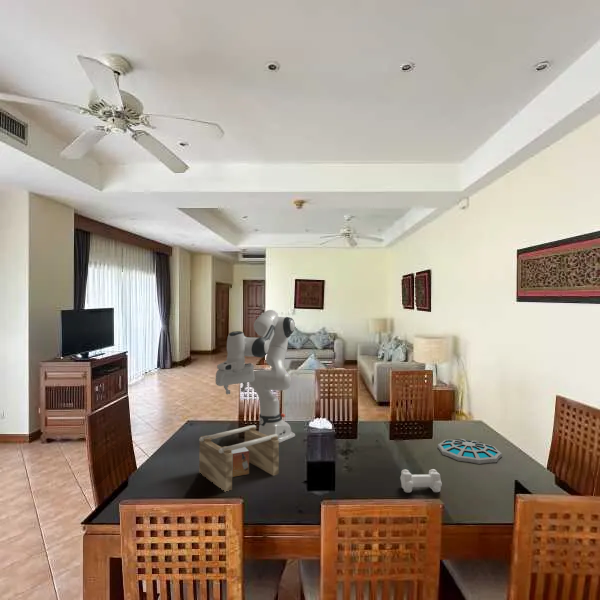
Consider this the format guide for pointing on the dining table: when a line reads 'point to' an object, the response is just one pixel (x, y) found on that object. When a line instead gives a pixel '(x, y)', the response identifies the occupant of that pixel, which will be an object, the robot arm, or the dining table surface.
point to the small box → (240, 462)
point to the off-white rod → (247, 443)
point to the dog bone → (420, 480)
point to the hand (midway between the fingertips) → (235, 392)
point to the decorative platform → (469, 451)
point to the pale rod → (226, 433)
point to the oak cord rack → (220, 464)
